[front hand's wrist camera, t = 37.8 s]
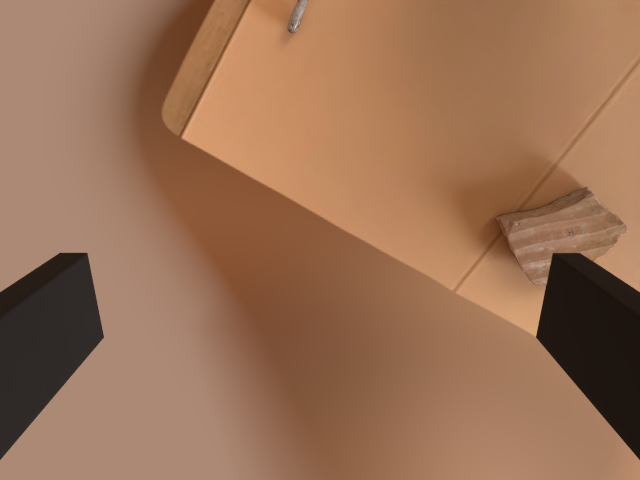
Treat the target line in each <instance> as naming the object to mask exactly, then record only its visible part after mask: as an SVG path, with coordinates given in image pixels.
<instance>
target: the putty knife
mask: <svg viewBox="0 0 640 480" xmlns="http://www.w3.org/2000/svg"><path fill="white" fill-rule="evenodd" d="M307 1H308V0H298V2H297V4H296V6H295V9H294V11H293V13H292V16H291V19H290V21H289V24H288V28H287V29H288V31H289V32H291V33H295V32H296V31H297V28H298V26H299V24H300V21H301V19H302V16H303V13H304V10H305V7H306V4H307Z"/></svg>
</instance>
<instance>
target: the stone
mask: <svg viewBox="0 0 640 480" xmlns="http://www.w3.org/2000/svg"><path fill="white" fill-rule="evenodd" d="M495 219H496V221H497V222H498V223H499V225H500V228H501V230H502V232H503V234H504V236H505V237H506V238H507V239H508V244H509V247H510V249H511V251H512V252H513V254H514V255H515V256H516V259H517V261H518V263H519V266H520V267H521V269H522V270H523V271H524V272H525V274H526V275H527V276H528V278H529V279H530V281H531V282H532V283H533V284H535V285H545V284H547V280H548V275H549V269H550V264H551V259H552V254H553V253H581V254H582V255H584V256H585V257H587V258H588V259H590V260H591V261H593V262H594V260H595V259H597V258H598V257H600V256H602V255H604V254H606V253H607V252H608V251H609V250H611V249H612V248H613V247H614V246H615V245H616V243H617V240H618V237H619V236H620V235H622V234H623V233H625V232H627V230H628V229H627V227H626V225H625V223H624V222H623V221H622V220H621V219H620V218H619V217H618V216H617V215H615V214H614V213H613V212H612V211H611V210H609V209H608V208H606V207H605V206H604V205H603V204H602V203H600V201H599V200H598V199H597V197H596V196H595V194H594V193H593V192H592V191H591V190H590V189H589V188H588V187H585V188H583V189H581V190H578V191H576V192H573V193H571V194H570V195H568V196H565V197H563V198H559V199H557V200H555V201H554V202H552V203H551V204H550V205H546V206H544V207H541V208H539V209H534V210H530V211H523V212H515V213H511V214H505V215H500V216H497V217H496V218H495Z"/></svg>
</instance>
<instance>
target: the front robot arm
mask: <svg viewBox="0 0 640 480" xmlns="http://www.w3.org/2000/svg"><path fill="white" fill-rule="evenodd" d="M103 338H104V335H103V330H102V325H101V320H100V315H99V310H98V305H97V300H96V295H95V290H94V285H93V280H92V275H91V269H90V264H89V259H88V254H87V253H59V254H58V255H56V256H55V257H53V258H52V259H50V260H49V261H47V262H46V263H44V264H43V265H41V266H40V267H38V268H36V269H35V270H33V271H32V272H30V273H29V274H27V275H26V276H24V277H23V278H21V279H20V280H18V281H17V282H15V283H14V284H12V285H11V286H9V287H8V288H6V289H5V290H3V291H2V292H0V459H1V458H2V457H3V456H4V455H5V454H6V452H7V451H8V450H9V449H10V448H11V446H12V445H13V444H14V443H15V442H16V441H17V439H18V438H19V437H20V436H21V435H22V434H23V432H24V431H25V430H26V429H27V428H28V426H29V425H30V424H31V423H32V422H33V420H34V419H35V418H36V417H37V416H38V415H39V413H40V412H41V411H42V410H43V409H44V408H45V406H46V405H47V404H48V403H49V402H50V400H51V399H52V398H53V397H54V396H55V394H56V393H57V392H58V391H59V390H60V389H61V387H62V386H63V385H64V384H65V383H66V381H67V380H68V379H69V378H70V377H71V376H72V374H73V373H74V372H75V371H76V370H77V368H78V367H79V366H80V365H81V364H82V363H83V361H84V360H85V359H86V358H87V357H88V356H89V354H90V353H91V352H92V351H93V349H94V348H95V347H96V346H97V345H98V344H99V343H100V341H101V340H102V339H103ZM536 338H537V339H538V340H539V341H540V343H541V344H542V345H543V346H544V347H545V348H546V350H547V351H548V352H549V353H550V354H551V356H552V357H553V358H554V359H555V360H556V361H557V363H558V364H559V365H560V366H561V367H562V368H563V370H564V371H565V372H566V373H567V374H568V376H569V377H570V378H571V379H572V380H573V382H574V383H575V384H576V385H577V386H578V387H579V389H580V390H581V391H582V392H583V393H584V395H585V396H586V397H587V398H588V399H589V400H590V402H591V403H592V404H593V405H594V406H595V408H596V409H597V410H598V411H599V412H600V413H601V415H602V416H603V417H604V418H605V419H606V420H607V422H608V423H609V424H610V425H611V426H612V428H613V429H614V430H615V431H616V432H617V433H618V435H619V436H620V437H621V438H622V439H623V441H624V442H625V443H626V444H627V445H628V447H629V448H630V449H631V450H632V451H633V452H634V454H635V455H636V456H637V457H638V458H639V460H640V292H638V291H637V290H635V289H634V288H632V287H631V286H629V285H628V284H626V283H625V282H623V281H622V280H620V279H619V278H617V277H616V276H614V275H613V274H611V273H610V272H608V271H607V270H605V269H604V268H602V267H601V266H599V265H597V264H596V263H594V262H593V261H591V260H590V259H588V258H587V257H585V256H584V255H582V254H581V253H553V254H552V259H551V264H550V269H549V275H548V280H547V285H546V290H545V295H544V300H543V305H542V310H541V315H540V320H539V325H538V330H537V335H536Z"/></svg>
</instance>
